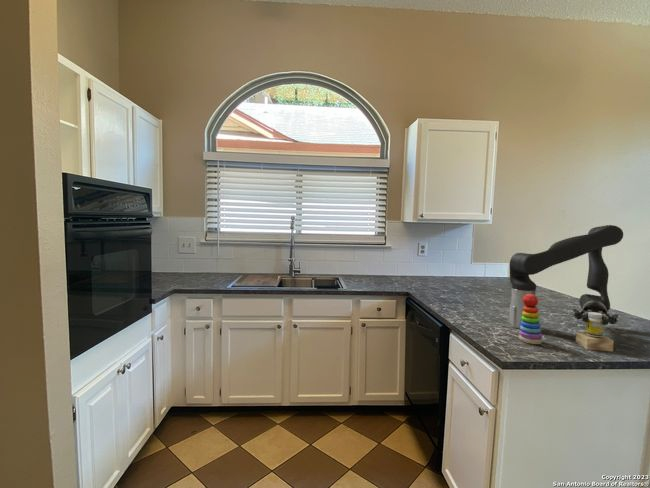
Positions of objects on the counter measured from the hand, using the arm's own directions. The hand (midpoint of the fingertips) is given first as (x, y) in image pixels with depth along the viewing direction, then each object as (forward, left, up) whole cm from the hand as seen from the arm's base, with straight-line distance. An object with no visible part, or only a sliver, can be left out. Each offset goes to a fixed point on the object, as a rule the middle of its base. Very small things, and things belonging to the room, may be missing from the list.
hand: (595, 321), depth 115 cm
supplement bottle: (+1, +3, -6) cm, 7 cm away
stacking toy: (-20, +2, -10) cm, 23 cm away
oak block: (+1, +2, -10) cm, 11 cm away
